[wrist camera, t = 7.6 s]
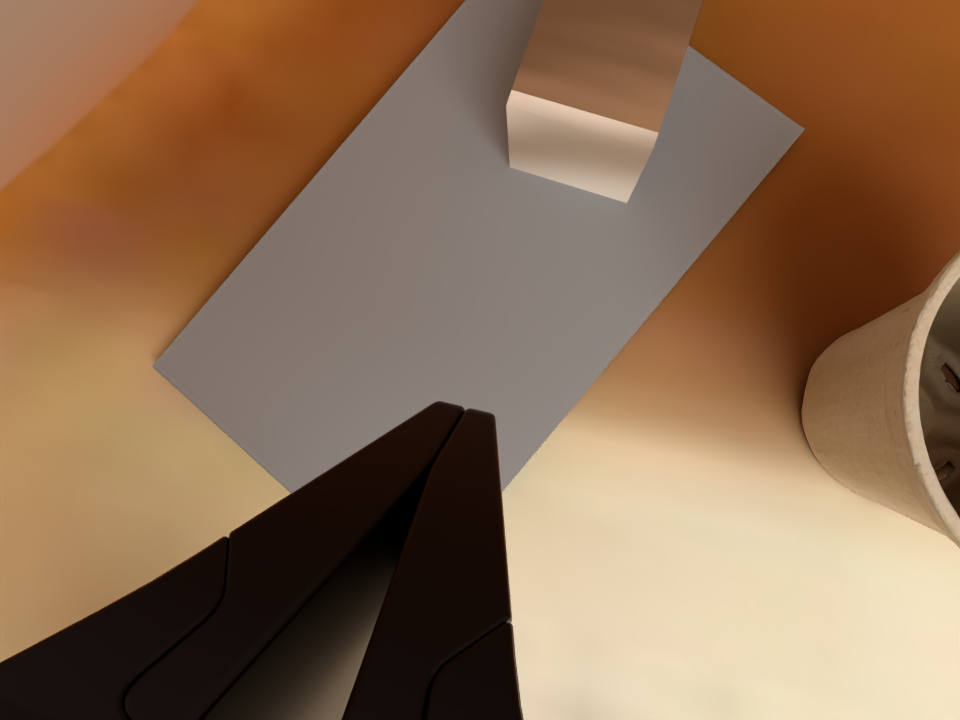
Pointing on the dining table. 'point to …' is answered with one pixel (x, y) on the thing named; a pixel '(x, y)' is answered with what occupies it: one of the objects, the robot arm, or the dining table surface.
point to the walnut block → (596, 90)
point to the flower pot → (894, 407)
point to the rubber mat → (460, 262)
